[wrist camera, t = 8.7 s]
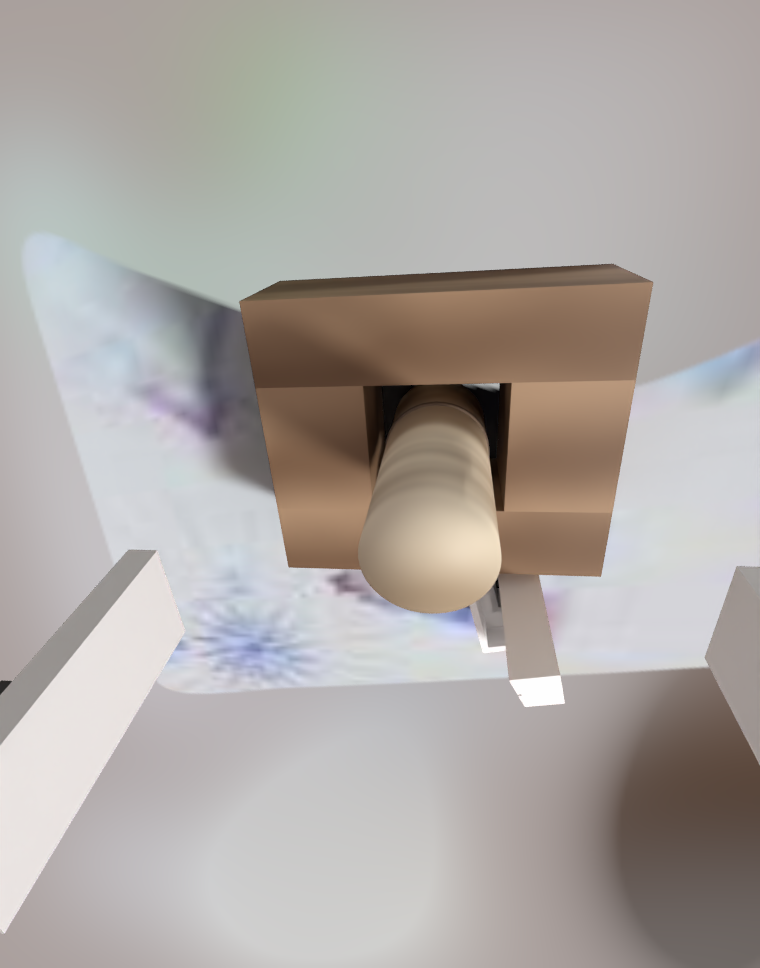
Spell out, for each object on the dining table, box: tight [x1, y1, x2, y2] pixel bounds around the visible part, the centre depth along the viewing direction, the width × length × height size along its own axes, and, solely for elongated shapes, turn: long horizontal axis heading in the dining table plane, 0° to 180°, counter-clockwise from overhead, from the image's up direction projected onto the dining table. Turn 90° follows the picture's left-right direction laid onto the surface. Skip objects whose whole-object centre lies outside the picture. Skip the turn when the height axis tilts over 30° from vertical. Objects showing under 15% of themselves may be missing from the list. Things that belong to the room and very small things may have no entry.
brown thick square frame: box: [240, 264, 653, 577], centre depth 23 cm, size 12×14×5 cm
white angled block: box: [470, 574, 565, 707], centre depth 26 cm, size 4×10×9 cm, turn 17°
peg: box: [358, 384, 501, 613], centre depth 20 cm, size 4×4×12 cm
